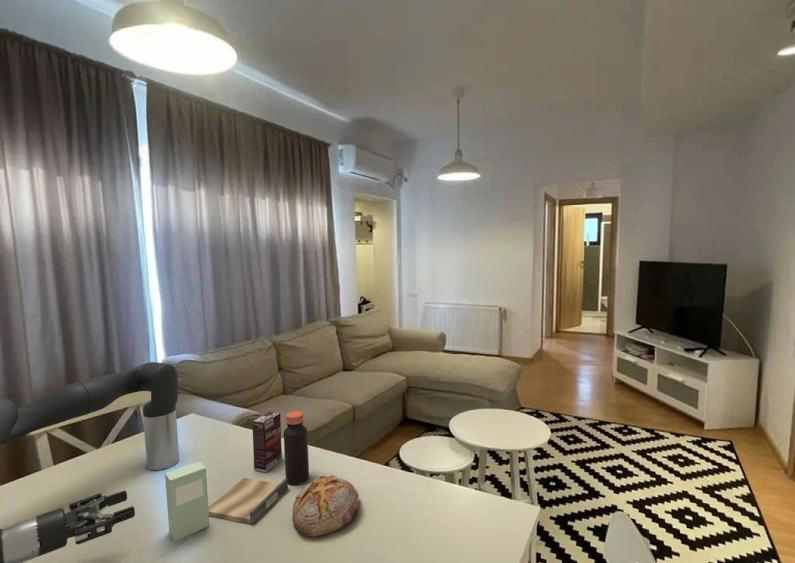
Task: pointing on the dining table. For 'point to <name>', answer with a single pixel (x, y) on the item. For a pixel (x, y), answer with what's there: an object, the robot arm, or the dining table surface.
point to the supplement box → (267, 441)
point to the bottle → (296, 449)
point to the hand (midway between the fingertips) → (130, 502)
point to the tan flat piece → (248, 500)
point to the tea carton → (187, 500)
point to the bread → (325, 506)
